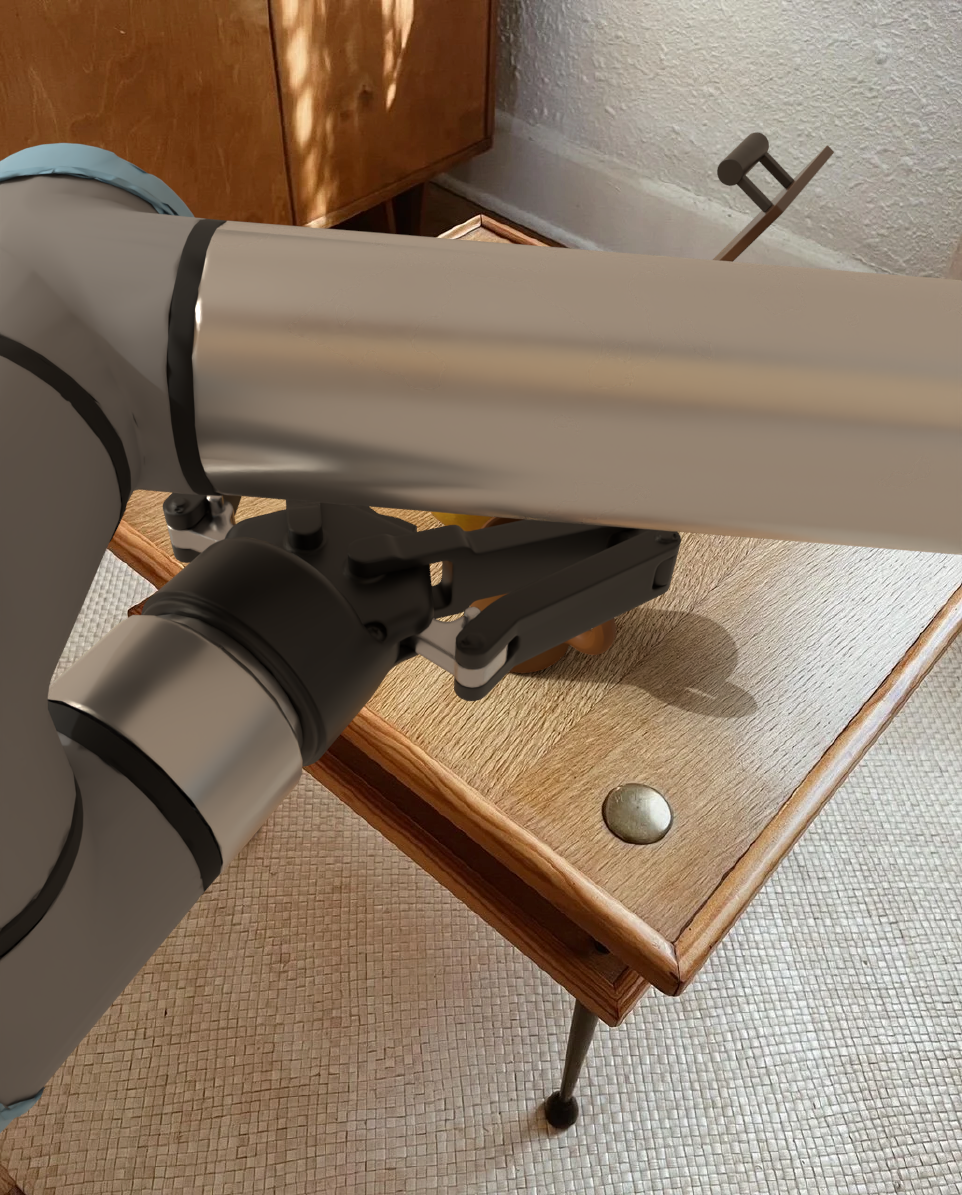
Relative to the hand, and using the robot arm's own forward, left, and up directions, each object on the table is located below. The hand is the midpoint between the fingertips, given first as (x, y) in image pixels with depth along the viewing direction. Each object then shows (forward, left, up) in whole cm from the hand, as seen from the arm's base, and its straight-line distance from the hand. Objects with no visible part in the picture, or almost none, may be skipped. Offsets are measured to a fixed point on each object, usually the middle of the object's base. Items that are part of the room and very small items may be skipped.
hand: (533, 377), depth 46 cm
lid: (+3, -44, -14) cm, 46 cm away
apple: (+14, -19, -30) cm, 38 cm away
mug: (+2, -10, -30) cm, 32 cm away
